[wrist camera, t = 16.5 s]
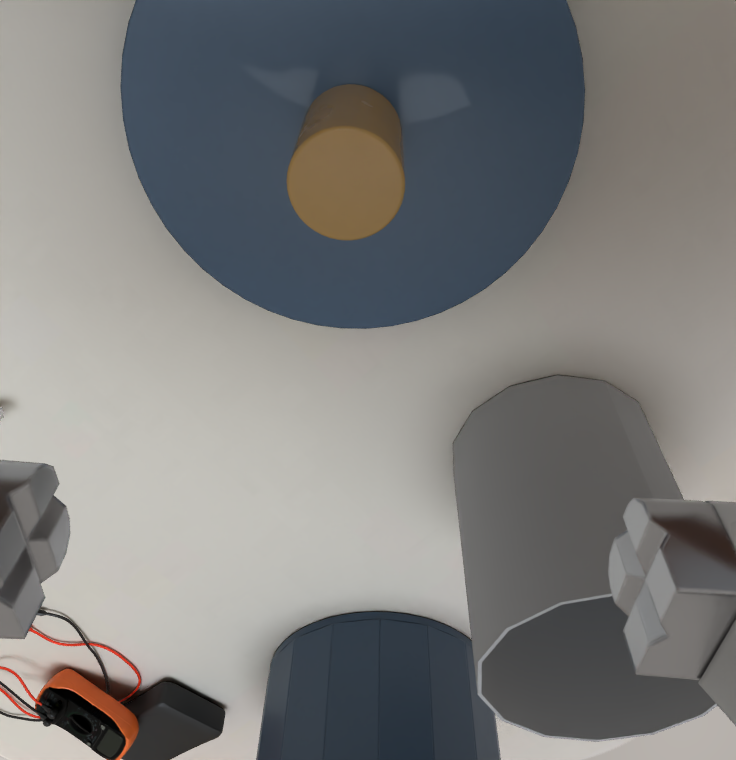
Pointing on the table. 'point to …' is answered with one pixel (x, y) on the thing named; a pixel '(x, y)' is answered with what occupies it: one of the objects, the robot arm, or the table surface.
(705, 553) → the robot arm
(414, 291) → the tin lid
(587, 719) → the cup
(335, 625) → the tin
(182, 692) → the multimeter
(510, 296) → the table surface
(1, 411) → the person figurine
